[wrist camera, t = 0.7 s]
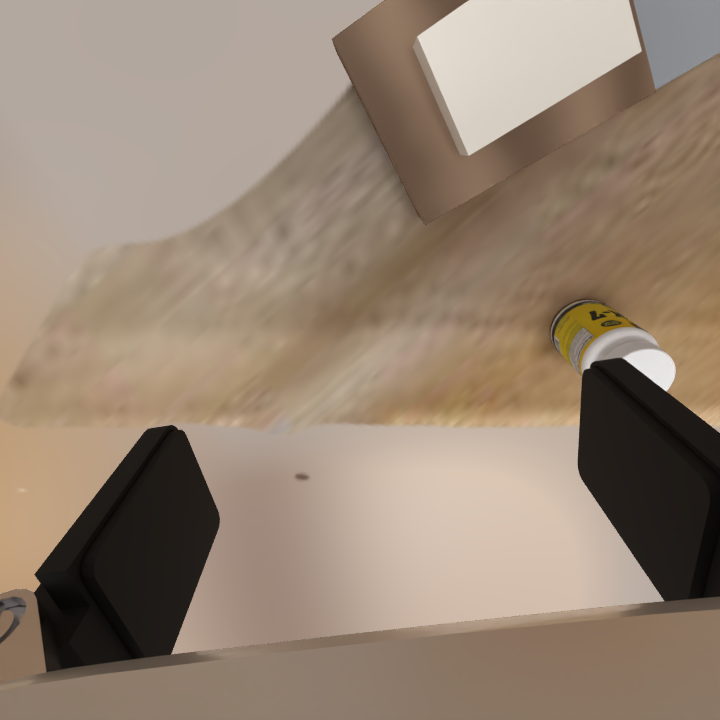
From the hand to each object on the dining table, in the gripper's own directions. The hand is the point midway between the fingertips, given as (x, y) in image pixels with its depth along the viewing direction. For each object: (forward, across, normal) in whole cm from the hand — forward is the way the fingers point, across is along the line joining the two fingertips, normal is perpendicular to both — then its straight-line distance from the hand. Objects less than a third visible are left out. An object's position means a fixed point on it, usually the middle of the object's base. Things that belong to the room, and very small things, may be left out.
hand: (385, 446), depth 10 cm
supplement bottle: (+23, -15, +9) cm, 29 cm away
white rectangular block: (+19, -9, -10) cm, 24 cm away
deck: (+23, -8, -9) cm, 26 cm away
